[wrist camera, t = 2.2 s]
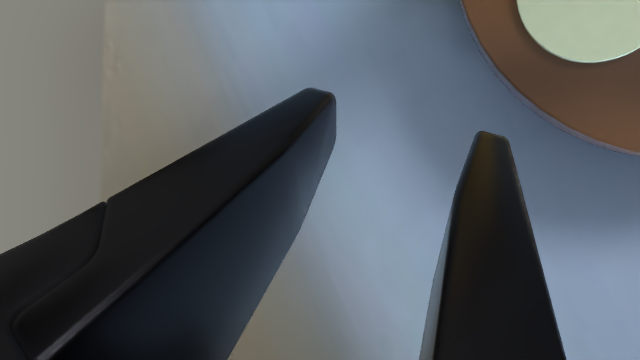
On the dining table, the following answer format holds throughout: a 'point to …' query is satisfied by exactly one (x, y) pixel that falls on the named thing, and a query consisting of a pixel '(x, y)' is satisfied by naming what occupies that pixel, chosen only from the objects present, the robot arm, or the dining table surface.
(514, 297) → the robot arm
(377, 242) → the dining table surface
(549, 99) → the joystick with buttons
